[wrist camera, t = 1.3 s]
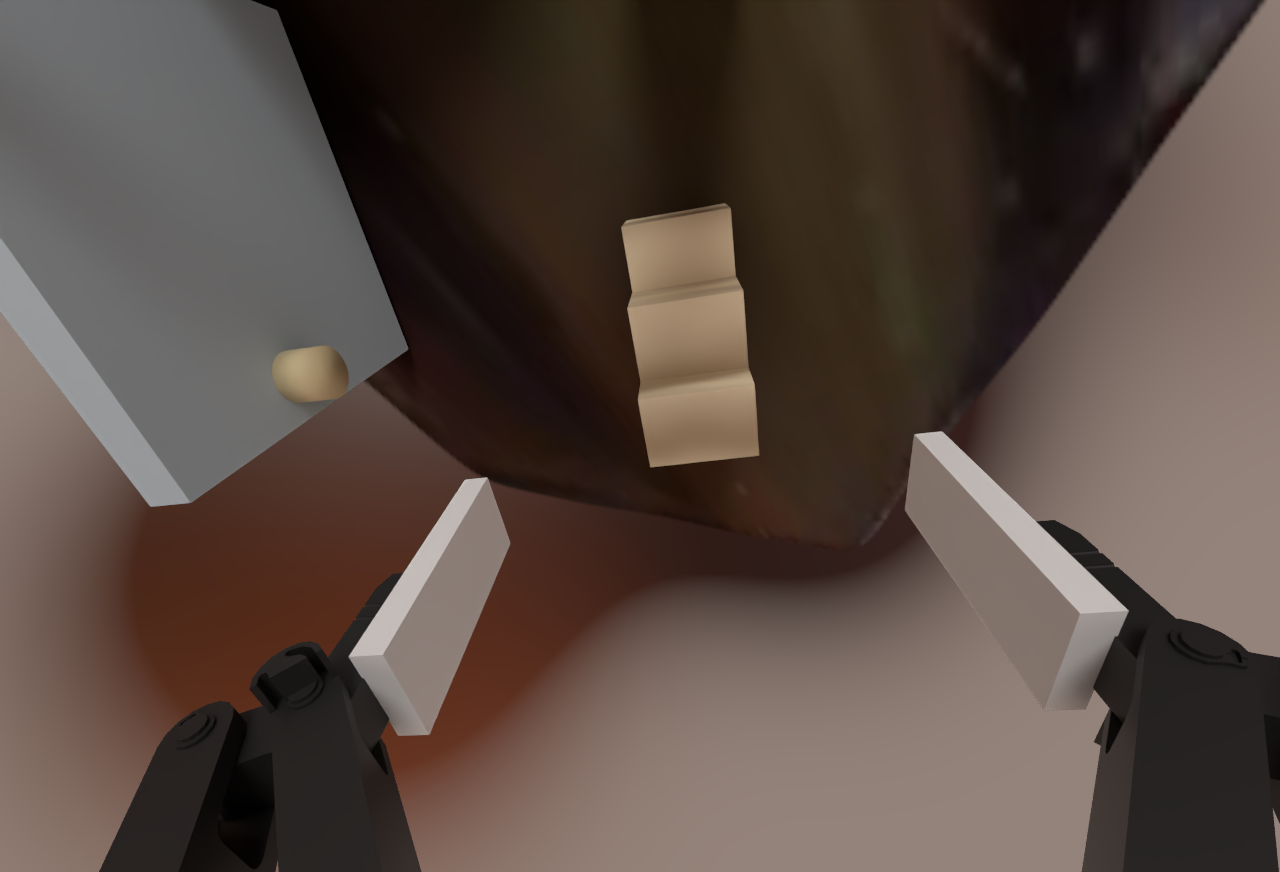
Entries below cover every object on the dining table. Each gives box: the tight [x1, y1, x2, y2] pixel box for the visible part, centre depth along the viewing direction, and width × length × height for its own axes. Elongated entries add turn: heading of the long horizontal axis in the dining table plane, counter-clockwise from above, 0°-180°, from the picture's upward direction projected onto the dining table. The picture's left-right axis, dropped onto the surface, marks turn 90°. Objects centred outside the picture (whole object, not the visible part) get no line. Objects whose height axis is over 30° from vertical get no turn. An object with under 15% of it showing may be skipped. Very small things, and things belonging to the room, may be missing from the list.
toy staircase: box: [621, 203, 759, 467], centre depth 24 cm, size 10×5×8 cm, turn 10°
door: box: [0, 0, 408, 507], centre depth 19 cm, size 16×3×15 cm, turn 9°
